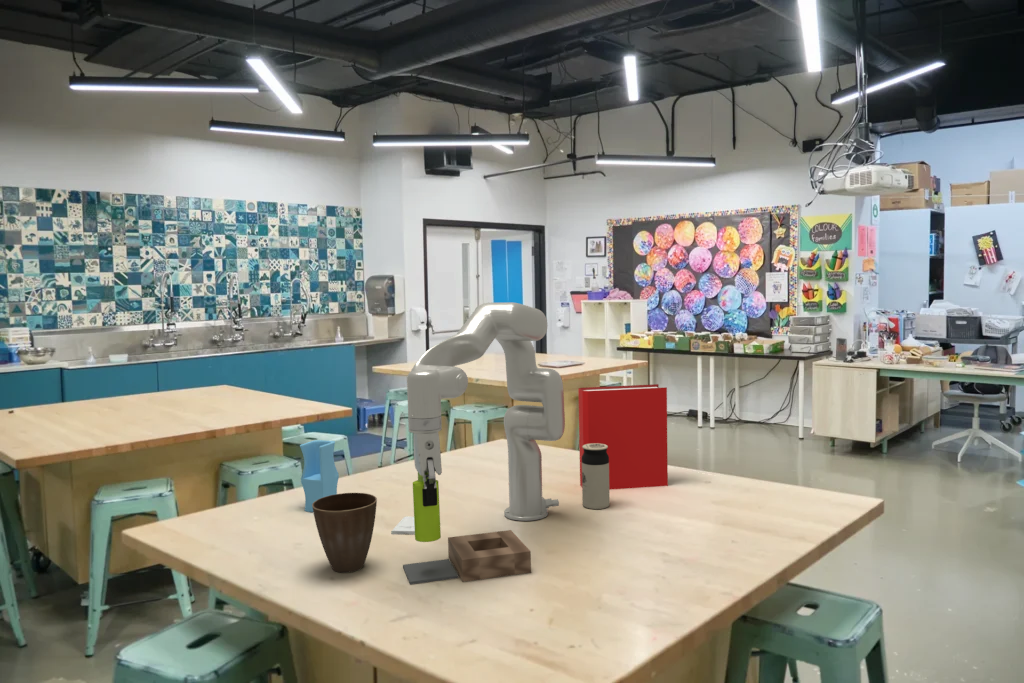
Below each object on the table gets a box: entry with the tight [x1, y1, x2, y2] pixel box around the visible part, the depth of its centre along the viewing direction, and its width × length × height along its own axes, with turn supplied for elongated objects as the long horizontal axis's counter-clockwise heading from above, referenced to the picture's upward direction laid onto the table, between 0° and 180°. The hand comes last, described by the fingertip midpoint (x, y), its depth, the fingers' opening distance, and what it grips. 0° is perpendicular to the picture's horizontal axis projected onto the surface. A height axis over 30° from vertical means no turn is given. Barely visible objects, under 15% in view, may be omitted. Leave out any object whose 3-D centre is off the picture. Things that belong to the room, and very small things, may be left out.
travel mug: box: [581, 443, 611, 510], centre depth 224 cm, size 8×8×18 cm
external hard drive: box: [390, 516, 415, 536], centre depth 209 cm, size 2×8×12 cm
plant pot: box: [312, 492, 378, 574], centre depth 180 cm, size 15×15×16 cm
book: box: [578, 383, 669, 491], centre depth 246 cm, size 27×8×32 cm, turn 98°
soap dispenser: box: [412, 472, 442, 543], centre depth 175 cm, size 6×7×20 cm
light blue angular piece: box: [299, 439, 340, 513], centre depth 228 cm, size 8×8×20 cm
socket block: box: [447, 529, 532, 582], centre depth 179 cm, size 16×16×5 cm
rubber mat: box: [402, 558, 459, 585], centre depth 176 cm, size 11×11×1 cm
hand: (427, 500), depth 174 cm, fingers closed on soap dispenser, 5 cm apart
